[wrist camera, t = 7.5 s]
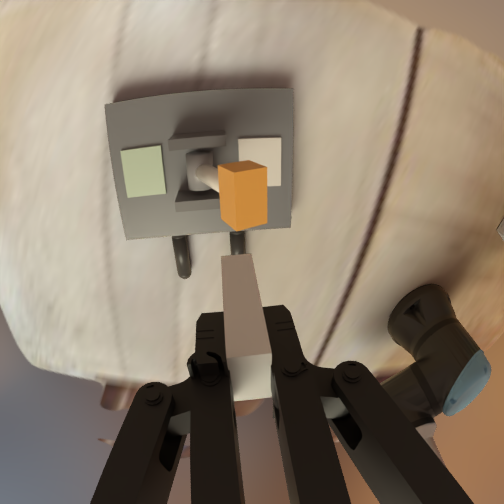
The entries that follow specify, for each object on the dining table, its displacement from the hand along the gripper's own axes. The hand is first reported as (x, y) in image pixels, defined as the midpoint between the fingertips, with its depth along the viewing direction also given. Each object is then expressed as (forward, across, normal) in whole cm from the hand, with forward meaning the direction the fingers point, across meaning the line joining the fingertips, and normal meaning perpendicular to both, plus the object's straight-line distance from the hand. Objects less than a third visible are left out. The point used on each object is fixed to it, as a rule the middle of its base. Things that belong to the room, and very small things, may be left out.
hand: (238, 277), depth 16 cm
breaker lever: (+22, +4, -1) cm, 22 cm away
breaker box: (+26, +3, +3) cm, 26 cm away
